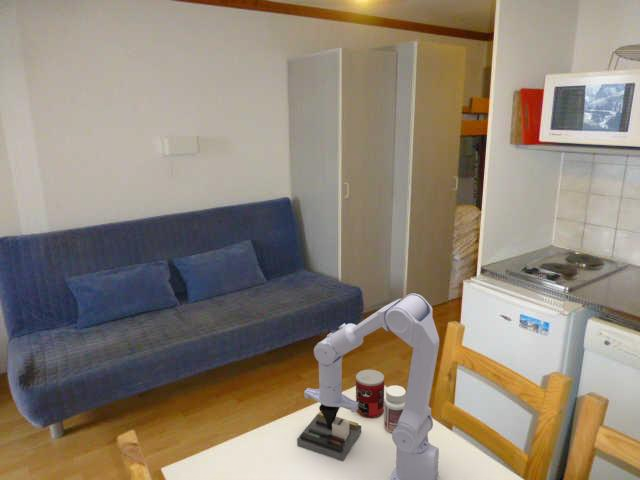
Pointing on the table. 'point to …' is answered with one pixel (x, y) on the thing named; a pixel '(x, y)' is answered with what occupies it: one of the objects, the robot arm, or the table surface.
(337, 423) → the block
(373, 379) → the canned food
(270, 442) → the table surface
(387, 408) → the pill bottle
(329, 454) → the breaker panel
